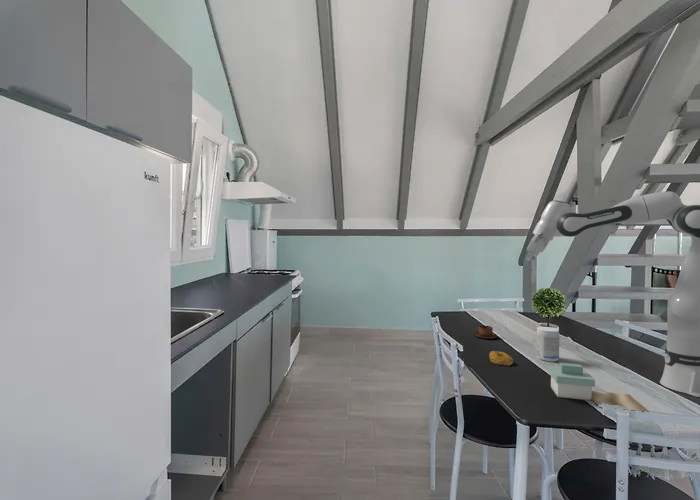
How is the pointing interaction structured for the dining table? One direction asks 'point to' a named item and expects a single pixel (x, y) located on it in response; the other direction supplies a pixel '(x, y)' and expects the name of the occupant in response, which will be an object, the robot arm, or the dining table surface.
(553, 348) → the supplement tub
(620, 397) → the cork mat
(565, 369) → the lid
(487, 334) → the cup and saucer
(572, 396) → the storage box
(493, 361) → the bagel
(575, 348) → the dining table surface
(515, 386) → the dining table surface
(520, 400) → the dining table surface
